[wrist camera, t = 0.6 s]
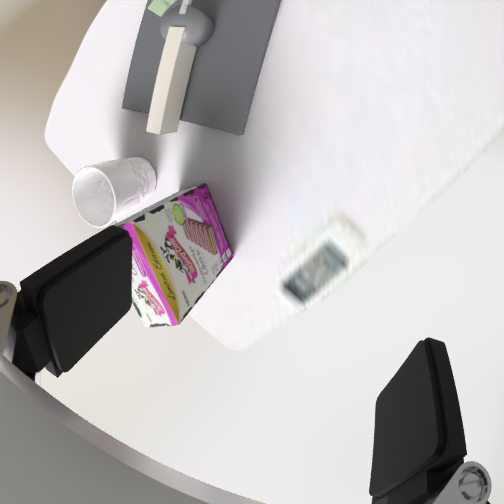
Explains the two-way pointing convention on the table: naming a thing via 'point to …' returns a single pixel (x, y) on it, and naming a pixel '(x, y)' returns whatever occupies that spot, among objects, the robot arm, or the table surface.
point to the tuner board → (207, 61)
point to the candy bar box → (175, 255)
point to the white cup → (112, 189)
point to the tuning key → (176, 64)
